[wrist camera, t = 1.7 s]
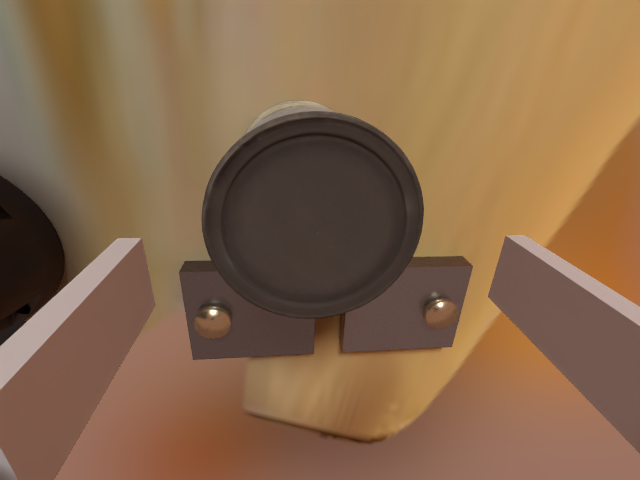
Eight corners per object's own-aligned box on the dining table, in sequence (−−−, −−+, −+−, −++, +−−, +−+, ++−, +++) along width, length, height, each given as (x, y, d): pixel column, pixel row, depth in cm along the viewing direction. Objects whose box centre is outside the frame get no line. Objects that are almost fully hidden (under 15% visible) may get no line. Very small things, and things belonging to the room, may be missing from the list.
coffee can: (384, 147, 28) (469, 199, 16) (315, 241, 31) (339, 347, 19) (281, 69, 25) (281, 53, 12) (215, 181, 28) (160, 262, 15)
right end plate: (339, 339, 37) (344, 359, 34) (345, 258, 32) (351, 274, 30) (443, 334, 38) (456, 353, 35) (462, 256, 34) (478, 271, 31)
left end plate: (197, 345, 35) (190, 367, 32) (185, 261, 31) (175, 278, 28) (312, 340, 36) (314, 360, 34) (314, 258, 32) (318, 275, 29)
